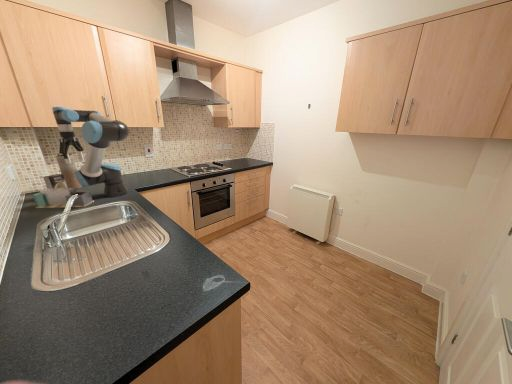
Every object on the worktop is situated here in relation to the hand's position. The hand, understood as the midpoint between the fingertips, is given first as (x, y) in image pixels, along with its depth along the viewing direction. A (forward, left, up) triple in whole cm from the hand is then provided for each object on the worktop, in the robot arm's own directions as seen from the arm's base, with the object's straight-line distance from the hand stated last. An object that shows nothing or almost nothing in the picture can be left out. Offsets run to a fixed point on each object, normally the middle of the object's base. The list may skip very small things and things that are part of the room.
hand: (75, 161), depth 145 cm
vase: (+20, -17, -26) cm, 37 cm away
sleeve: (-11, +20, -25) cm, 34 cm away
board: (-2, +20, -25) cm, 32 cm away
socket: (+10, +20, -25) cm, 34 cm away
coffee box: (+15, +3, -26) cm, 30 cm away
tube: (0, +20, -25) cm, 32 cm away
